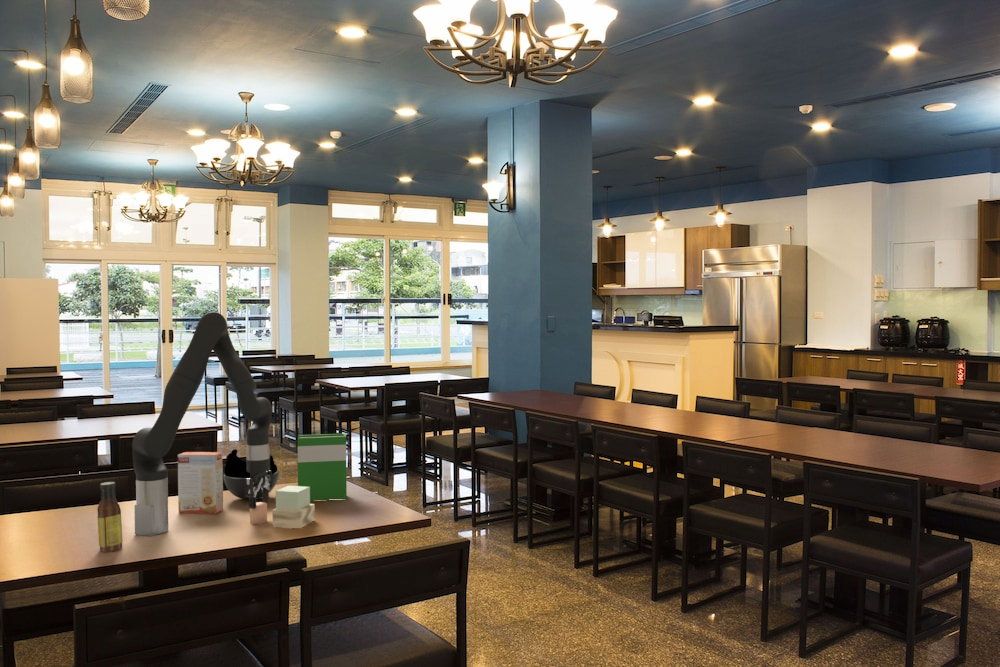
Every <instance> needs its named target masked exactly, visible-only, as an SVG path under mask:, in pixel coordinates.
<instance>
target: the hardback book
mask: <svg viewBox="0 0 1000 667" xmlns="http://www.w3.org/2000/svg"><path fill="white" fill-rule="evenodd" d="M297 486H304V487H310V501H314V500H329V499H347V497H348V496H347V493H348V492H347V490H348V489H347V488H348V487H347V433H328V434H327V433H325V434H322V433H320V434H300V435H299V434H298V435H297Z"/></svg>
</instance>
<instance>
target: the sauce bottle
mask: <svg viewBox="0 0 1000 667" xmlns="http://www.w3.org/2000/svg"><path fill="white" fill-rule="evenodd" d="M99 489H100V501H99V503H98V505H97V508H96V510H97V530H98V547H99V551H100V552H101V551H103V552H102V553H111V551H112V552H117V551H119V550H120V549H122V548H123V525H122V523H123V522H122V510H121V507H120V504H119V503H118V500H117V498H116V482H115V481H105V482H101V483H100V485H99ZM116 550H117V551H116Z"/></svg>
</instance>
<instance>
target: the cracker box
mask: <svg viewBox="0 0 1000 667" xmlns="http://www.w3.org/2000/svg"><path fill="white" fill-rule="evenodd" d="M223 464H224V463H223V452H219V451H213V452H212V451H185V452H182V453H178V454H177V490H178V491H177V492H178V493H177V494H178V495H177V496H178V500H177V501H178V503H177V504H178V513H179V514H213V513H215V514H217V513H219V512H221V511H223V510H224V478H223V475H224V472H223V470H224V468H223V466H224V465H223Z"/></svg>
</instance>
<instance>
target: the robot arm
mask: <svg viewBox="0 0 1000 667" xmlns="http://www.w3.org/2000/svg"><path fill="white" fill-rule="evenodd" d="M190 340H191V341H190V343H189V345H188V346H187V348H186V350H185V352H183V354H182V356H181V358H180V360H179V361H178V363H177V365H176V367H175V368H174V369H173V371H172V374H171V376H170V378H169V379H168V382H167V383H166V386H165V388H164V392H163V399H162V400H163V401H162V407H161V411H160V413H159V416H158V417H157V419H156V421H155V422H154V424H153V426H152V427H144V428H142V429H140V430H138V431H137V432H136V433H135V435H134V437H133V440H132V463H133V465H132V466H133V471H134V473H135V481H136V482H135V486H136V488H135V490H136V491H135V492H136V493H135V494H136V496H135V498H136V504H135V505H134V535H135V534H137V535H136V536H146V535H149V536H150V537H152V535H153V536H155V535H159V534H160V535H161V534H163V533H167V532H168V531H169V487H168V486H169V485H168V484H169V480H168V479H169V477H168V476H169V475H168V474H169V473H168V468H167V466H166V465H165V464H164V461H163V460H164V459H163V457H164V456H166V455H167V454H168V452H169V451H170V449H171V448H172V445H173V443H174V440H175V438H176V436H177V432H178V430H179V428H180V424H181V422H182V421H183V420H182V419H183V418H184V416H185V414H186V413H187V410H188V408H189V406H190V405H191V403H192V401H193V399H194V397H195V395H196V393H197V391H198V389H199V388H200V386H201V384H202V382H203V379H204V375H205V372H206V369H207V365H208V362H209V359H210V356H211V354H212V352H213V353H214V354H215V356H216V357H217V359H218V361H219V363H220V364H221V366H222V368H223V371H224V373H225V376H226V377H227V379H228V381H229V383H230V385H231V387H232V389H233V390H234V392H235V395H236V399H237V402H238V406H239V409H240V412H241V414H242V415H243V416H244V418H245V419H247V420H249V421H252V423H251V425H250V426H249V427H248V428H247V430H246V450H245V452H246V453H245V454H246V456H245V457H246V460H245V462H247V472H249V473H250V474H251V475H250V478H246V479H245V497H249V500H248V508H249V509H250V508H251V509H255V508H256V502H257V499H256V494H257V492H258V491H259V489H260V488H261V489H262V490H263V491H262V497H261V502H265V503H268V502H270V500H269V499H270V498H269V497H270V496H269V495H270V492H269V490H270V488H272V471H269V470H270V455H271V454H270V452H271V451H270V450H271V449H270V444H269V443H270V442H269V441H270V439H269V438H270V437H269V436H270V435H269V429H270V425H271V420H272V415H273V406H272V403H271V401H270V400H269V399H268V398H266V397H264V396H263V397H262V396H260V397H256V395H255V392H254V391H256V389H257V383H256V382H255V380H254V378H253V376H252V373H251V372H250V371H249V368H248V367H247V366H246V364H245V363H244V361H243V360H242V359H241V356H239V354H238V352H237V350H236V349H235V347H234V345H233V343H232V340H231V337H230V334H229V328H228V322H227V320H226V318H225V317H224V315H222V314H221V313H220V312H216V311H210V312H207V313H205V314H203V315H202V316H201V317H200V319H198V322H197V325H196V328H195V330H194V332H193V335H192V337H191V339H190ZM268 481H269V482H268ZM253 487H254V488H253ZM248 489H249V492H248ZM253 491H254V494H253ZM166 531H167V532H166ZM149 536H148V537H149Z"/></svg>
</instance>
